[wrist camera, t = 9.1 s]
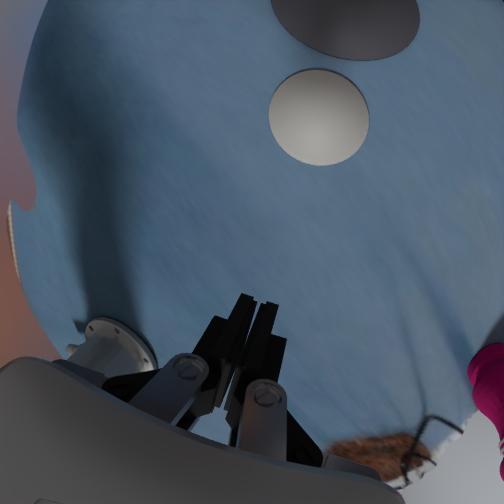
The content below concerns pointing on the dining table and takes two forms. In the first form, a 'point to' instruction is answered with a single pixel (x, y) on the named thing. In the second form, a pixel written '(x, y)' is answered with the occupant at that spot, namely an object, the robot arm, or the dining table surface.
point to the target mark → (351, 26)
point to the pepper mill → (490, 388)
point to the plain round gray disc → (318, 117)
